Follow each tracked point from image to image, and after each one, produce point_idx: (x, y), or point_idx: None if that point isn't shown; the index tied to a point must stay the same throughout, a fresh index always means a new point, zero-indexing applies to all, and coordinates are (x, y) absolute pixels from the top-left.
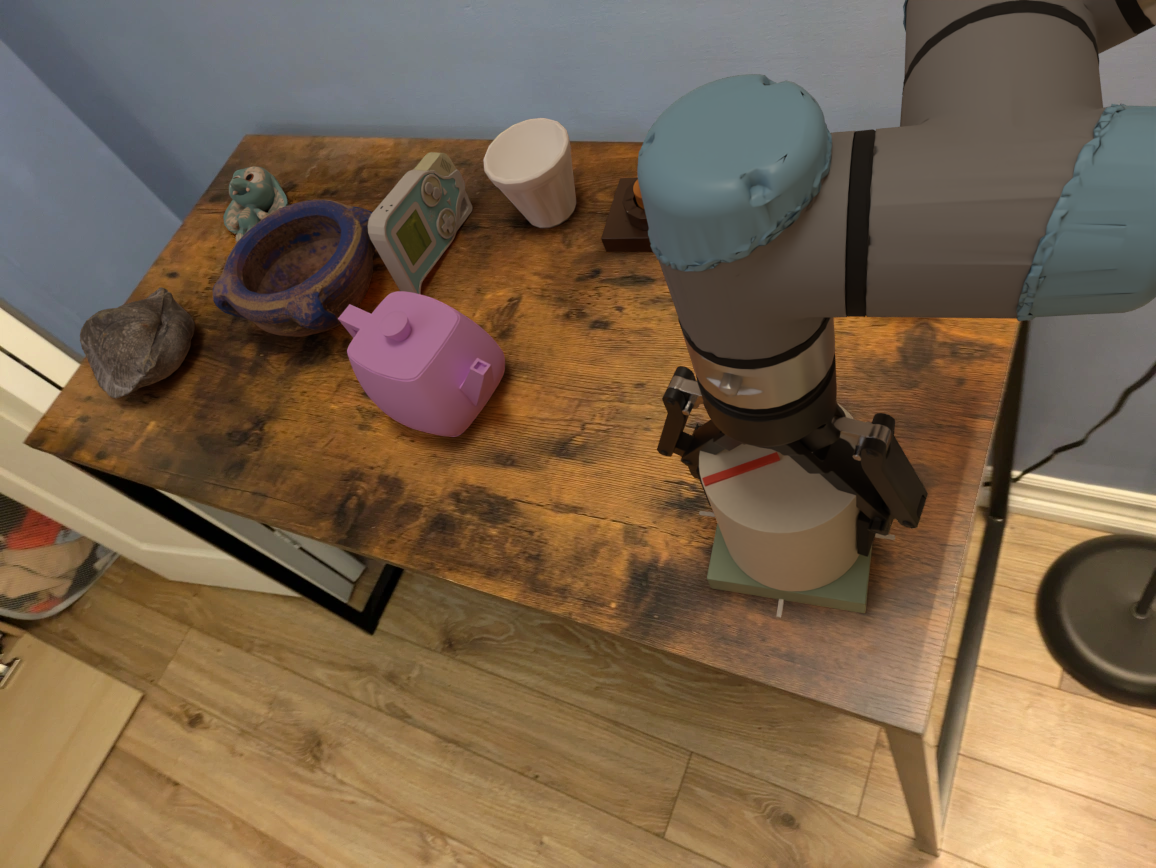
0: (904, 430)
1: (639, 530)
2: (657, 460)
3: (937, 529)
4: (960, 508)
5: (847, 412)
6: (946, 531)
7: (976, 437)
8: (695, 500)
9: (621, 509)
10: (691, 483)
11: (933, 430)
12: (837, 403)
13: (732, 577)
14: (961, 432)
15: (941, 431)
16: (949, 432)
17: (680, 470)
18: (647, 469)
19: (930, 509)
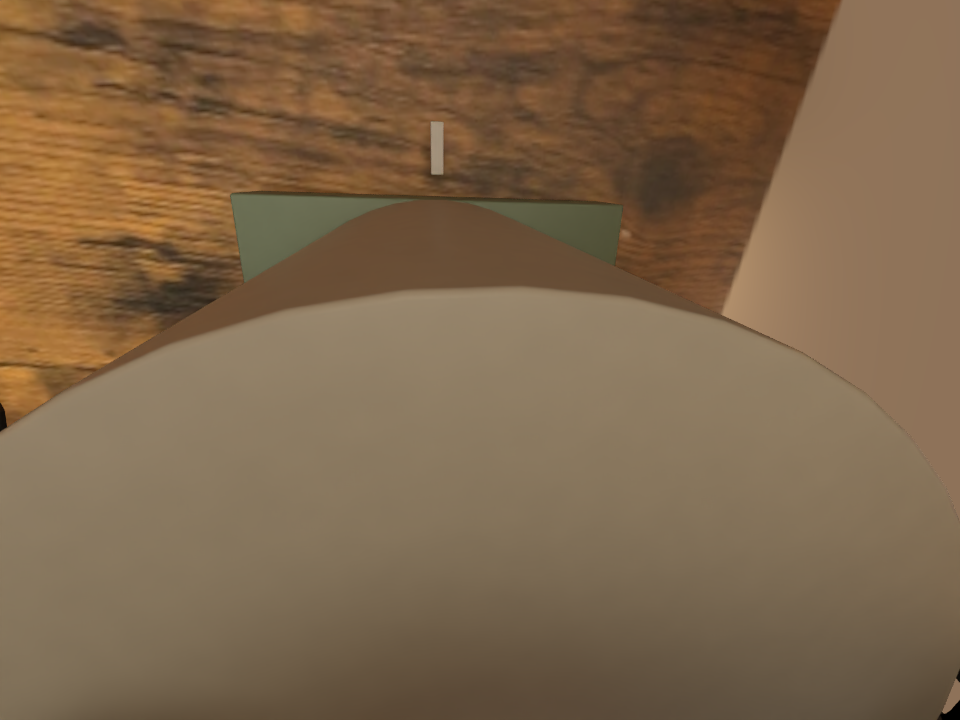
0: (662, 33)
1: (83, 377)
2: (24, 177)
3: (693, 289)
4: (740, 240)
5: (941, 493)
6: (707, 291)
7: (809, 50)
8: (189, 286)
9: (3, 333)
10: (159, 241)
11: (726, 31)
12: (890, 422)
13: None
14: (783, 35)
15: (742, 33)
16: (758, 36)
17: (110, 204)
18: (9, 210)
19: (688, 248)
